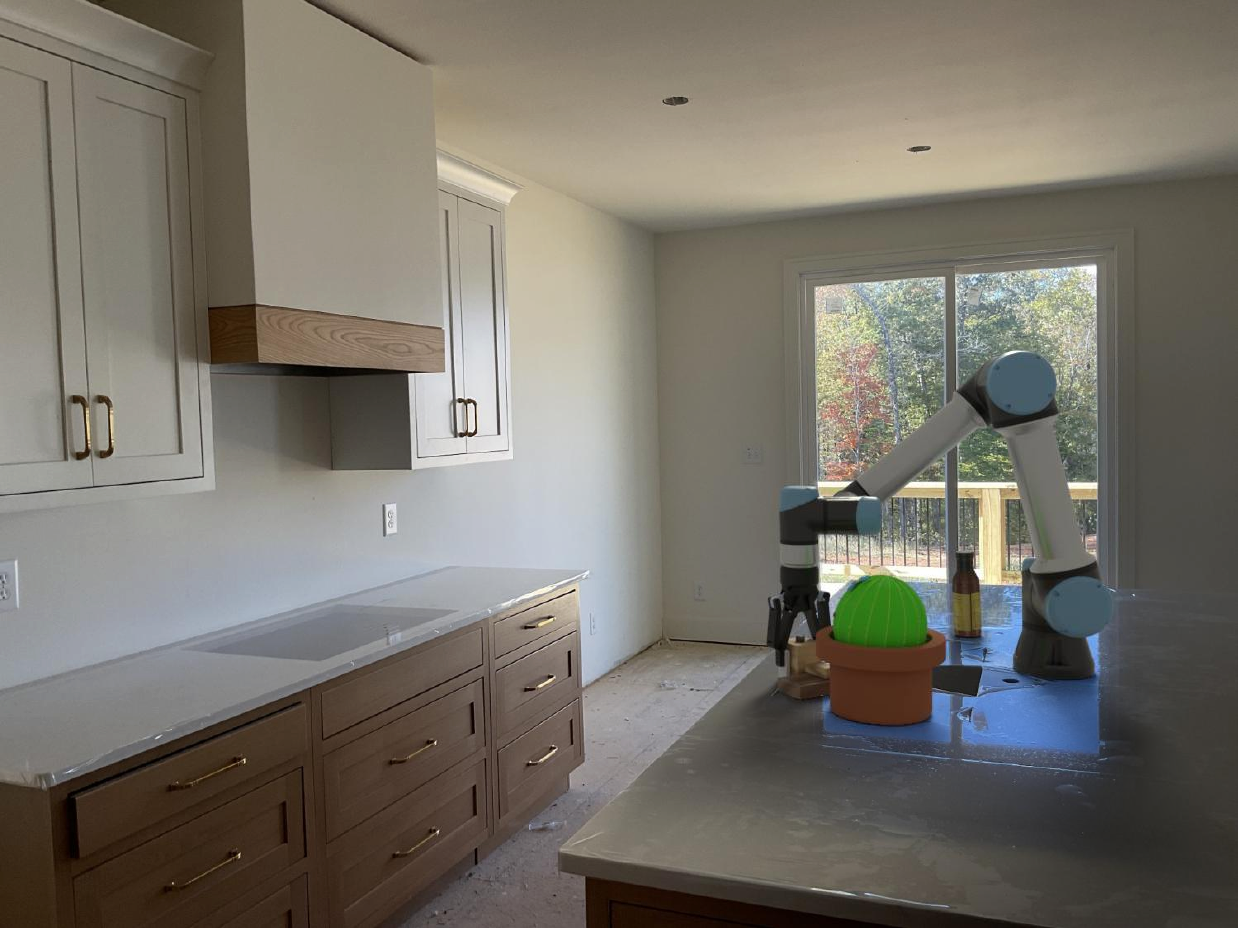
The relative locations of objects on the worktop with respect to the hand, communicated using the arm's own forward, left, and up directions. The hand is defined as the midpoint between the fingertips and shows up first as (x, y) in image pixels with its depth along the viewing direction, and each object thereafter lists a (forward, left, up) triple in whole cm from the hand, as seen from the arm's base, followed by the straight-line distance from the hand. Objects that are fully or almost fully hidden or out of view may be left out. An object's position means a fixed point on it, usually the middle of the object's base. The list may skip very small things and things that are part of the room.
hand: (800, 679), depth 192 cm
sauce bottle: (+11, -57, 0) cm, 58 cm away
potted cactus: (-23, 0, 0) cm, 23 cm away
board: (-7, -3, 0) cm, 8 cm away
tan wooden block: (-3, 0, 0) cm, 3 cm away
